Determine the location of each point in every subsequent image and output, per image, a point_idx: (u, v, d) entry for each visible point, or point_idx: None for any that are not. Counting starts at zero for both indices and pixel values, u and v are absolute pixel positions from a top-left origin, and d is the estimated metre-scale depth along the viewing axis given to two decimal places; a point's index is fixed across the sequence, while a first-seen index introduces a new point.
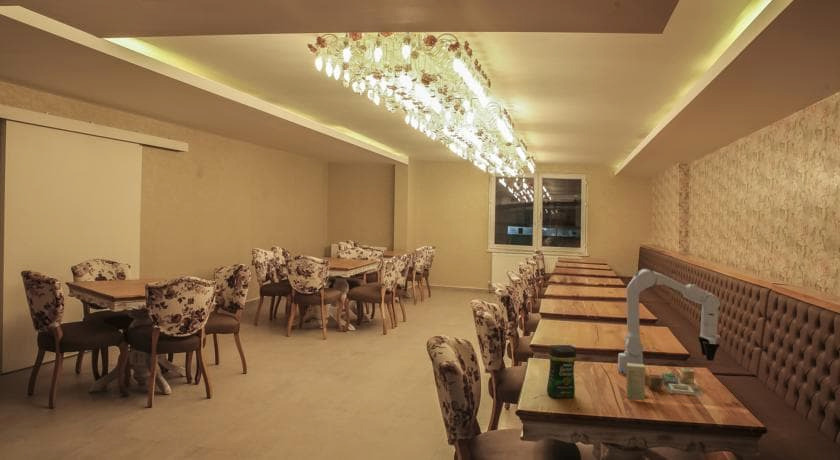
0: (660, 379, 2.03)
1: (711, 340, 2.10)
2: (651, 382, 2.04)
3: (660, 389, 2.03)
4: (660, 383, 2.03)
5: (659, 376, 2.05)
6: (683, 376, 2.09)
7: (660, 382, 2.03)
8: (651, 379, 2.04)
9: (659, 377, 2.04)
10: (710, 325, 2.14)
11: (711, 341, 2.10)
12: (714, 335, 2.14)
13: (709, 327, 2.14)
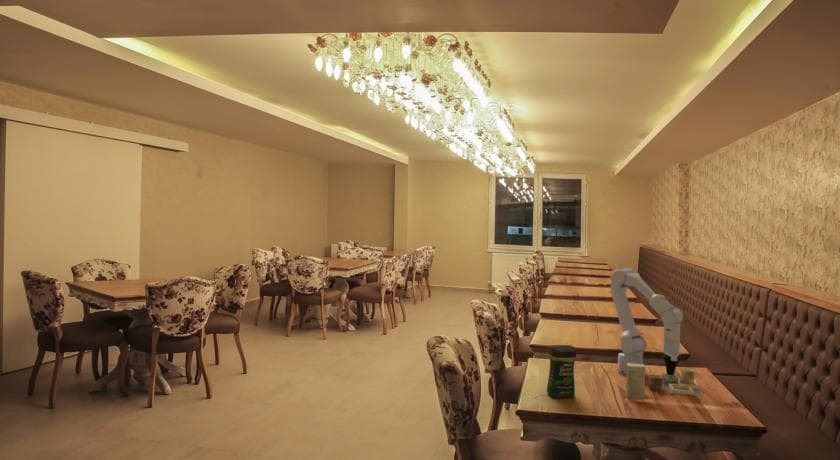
0: (660, 379, 2.03)
1: (672, 357, 2.05)
2: (651, 382, 2.04)
3: (660, 389, 2.03)
4: (660, 383, 2.03)
5: (659, 376, 2.05)
6: (683, 376, 2.09)
7: (660, 382, 2.03)
8: (651, 379, 2.04)
9: (659, 377, 2.04)
10: (672, 341, 2.09)
11: (672, 358, 2.05)
12: (676, 351, 2.09)
13: (671, 343, 2.09)
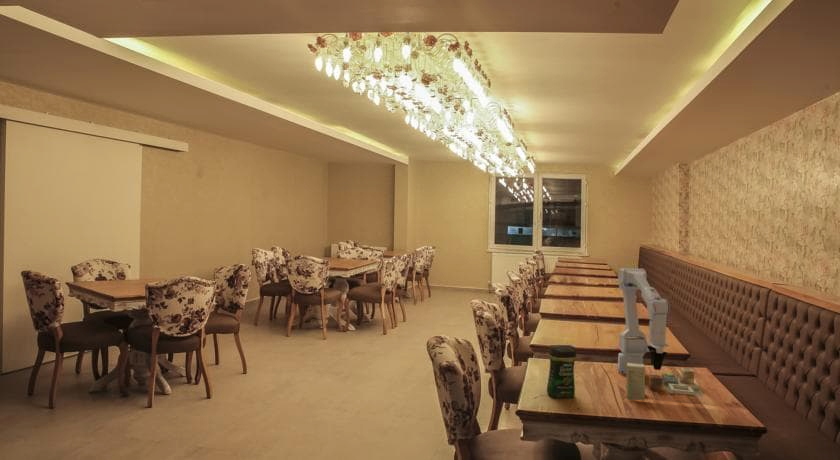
0: (660, 379, 2.03)
1: (658, 349, 1.98)
2: (651, 382, 2.04)
3: (660, 389, 2.03)
4: (660, 383, 2.03)
5: (659, 376, 2.05)
6: (683, 376, 2.09)
7: (660, 382, 2.03)
8: (651, 379, 2.04)
9: (659, 377, 2.04)
10: (658, 333, 2.02)
11: (658, 350, 1.98)
12: (662, 343, 2.02)
13: (657, 335, 2.02)
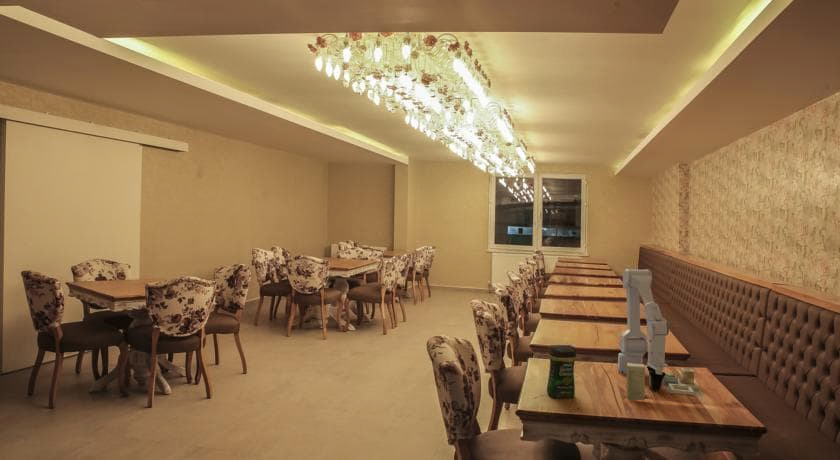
0: None
1: (657, 370, 1.98)
2: (651, 382, 2.04)
3: (660, 389, 2.03)
4: None
5: None
6: (683, 376, 2.09)
7: None
8: (651, 379, 2.04)
9: None
10: (657, 354, 2.02)
11: (657, 371, 1.98)
12: (661, 364, 2.02)
13: (656, 356, 2.02)
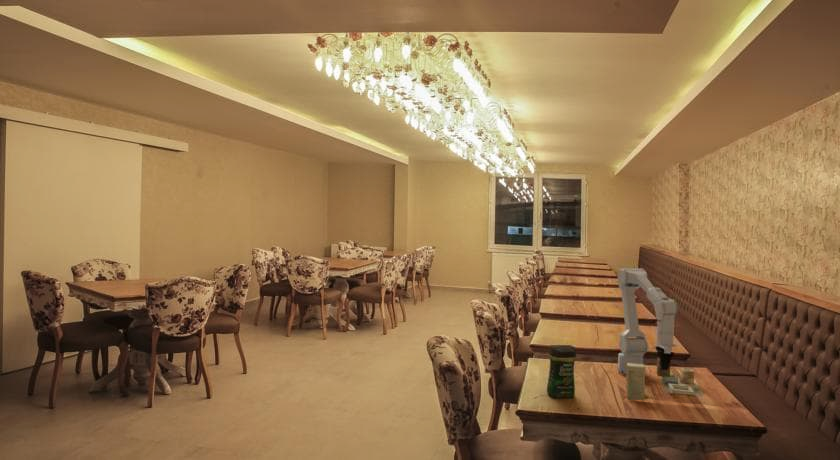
0: None
1: (666, 349, 1.97)
2: (659, 365, 2.03)
3: (668, 372, 2.02)
4: None
5: None
6: (683, 376, 2.09)
7: None
8: (659, 362, 2.03)
9: None
10: (666, 333, 2.01)
11: (666, 350, 1.97)
12: (670, 344, 2.01)
13: (665, 335, 2.01)
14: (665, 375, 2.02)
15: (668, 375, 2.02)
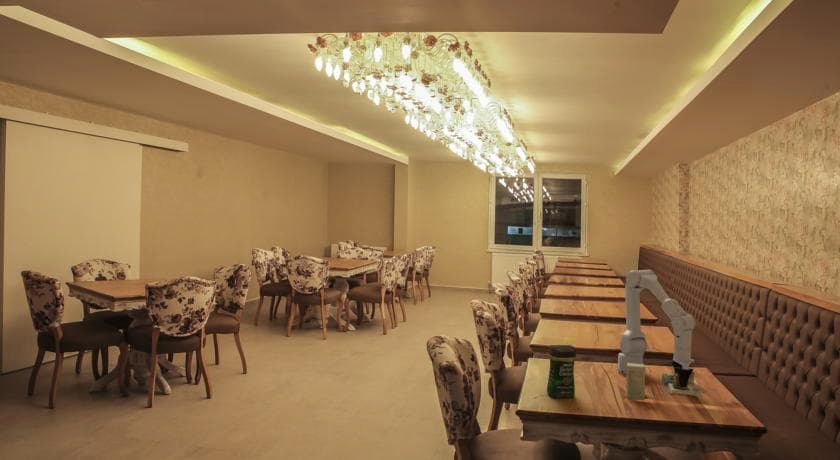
0: None
1: (684, 365, 1.96)
2: (676, 380, 2.02)
3: (686, 387, 2.01)
4: None
5: None
6: None
7: None
8: (676, 377, 2.02)
9: None
10: (683, 349, 2.00)
11: (684, 366, 1.96)
12: (687, 359, 2.01)
13: (682, 351, 2.01)
14: None
15: None
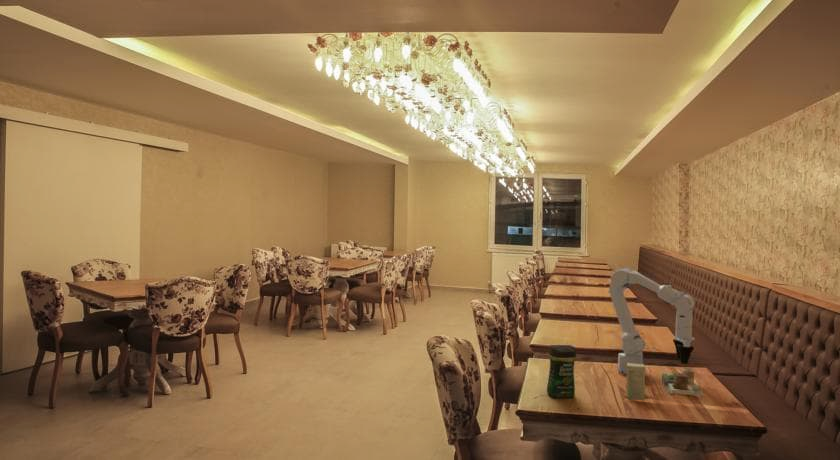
0: (686, 377, 2.01)
1: (685, 343, 2.05)
2: (676, 380, 2.02)
3: (686, 387, 2.01)
4: (686, 381, 2.01)
5: (684, 374, 2.04)
6: None
7: (686, 380, 2.01)
8: (676, 377, 2.02)
9: (684, 375, 2.03)
10: (684, 328, 2.09)
11: (685, 344, 2.05)
12: (688, 338, 2.09)
13: (683, 329, 2.09)
14: None
15: None
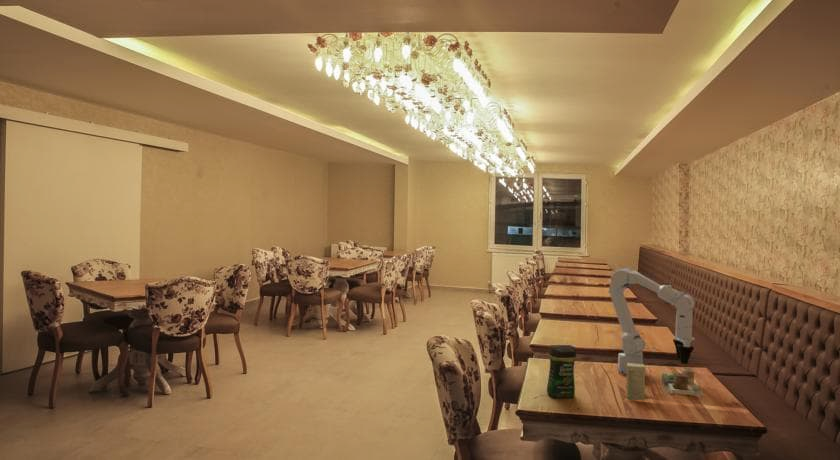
0: (686, 377, 2.01)
1: (685, 343, 2.05)
2: (676, 380, 2.02)
3: (686, 387, 2.01)
4: (686, 381, 2.01)
5: (684, 374, 2.04)
6: None
7: (686, 380, 2.01)
8: (676, 377, 2.02)
9: (684, 375, 2.03)
10: (684, 328, 2.09)
11: (685, 344, 2.05)
12: (688, 338, 2.09)
13: (683, 329, 2.09)
14: None
15: None
